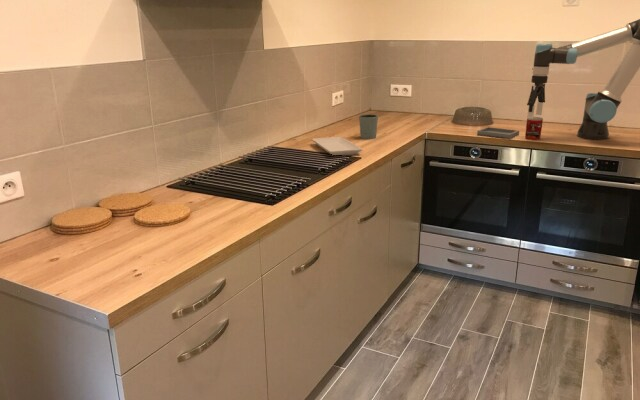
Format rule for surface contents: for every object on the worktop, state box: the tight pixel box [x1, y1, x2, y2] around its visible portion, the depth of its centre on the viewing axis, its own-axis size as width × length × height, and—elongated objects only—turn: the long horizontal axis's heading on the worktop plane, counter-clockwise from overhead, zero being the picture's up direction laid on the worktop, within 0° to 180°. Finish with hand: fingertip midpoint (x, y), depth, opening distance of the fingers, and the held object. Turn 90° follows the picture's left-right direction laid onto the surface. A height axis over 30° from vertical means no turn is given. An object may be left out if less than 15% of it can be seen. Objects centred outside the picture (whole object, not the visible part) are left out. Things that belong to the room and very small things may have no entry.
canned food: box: [524, 116, 544, 141], centre depth 277 cm, size 8×8×11 cm
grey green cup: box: [358, 113, 379, 140], centre depth 284 cm, size 10×10×12 cm
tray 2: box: [476, 126, 520, 140], centre depth 288 cm, size 18×14×2 cm
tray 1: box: [311, 136, 364, 156], centre depth 259 cm, size 17×32×4 cm, turn 17°
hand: (534, 116), depth 275 cm, fingers open, 13 cm apart
